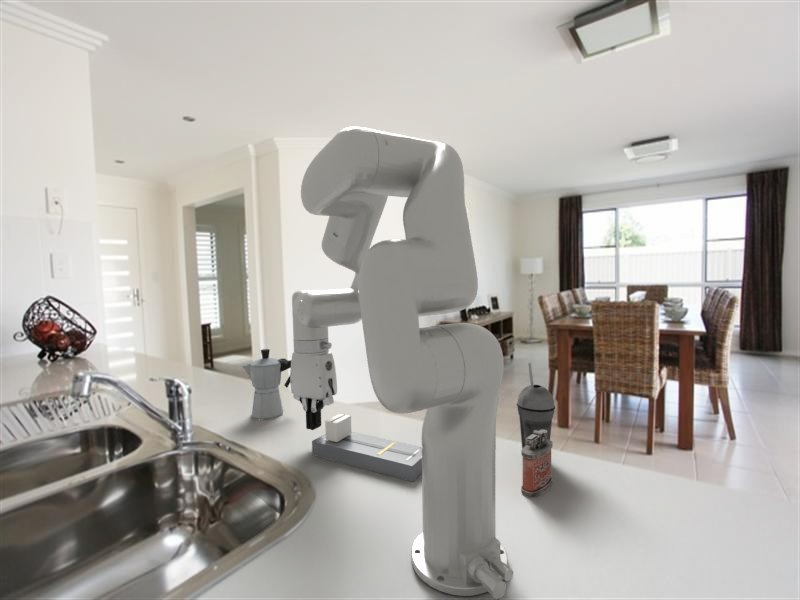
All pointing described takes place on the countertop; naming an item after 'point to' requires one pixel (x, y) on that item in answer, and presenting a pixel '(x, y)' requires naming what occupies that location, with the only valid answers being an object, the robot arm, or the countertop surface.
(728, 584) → the countertop surface
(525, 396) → the beverage cup
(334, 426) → the fader knob
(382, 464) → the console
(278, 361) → the coffee maker
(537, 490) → the lighter
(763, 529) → the countertop surface
